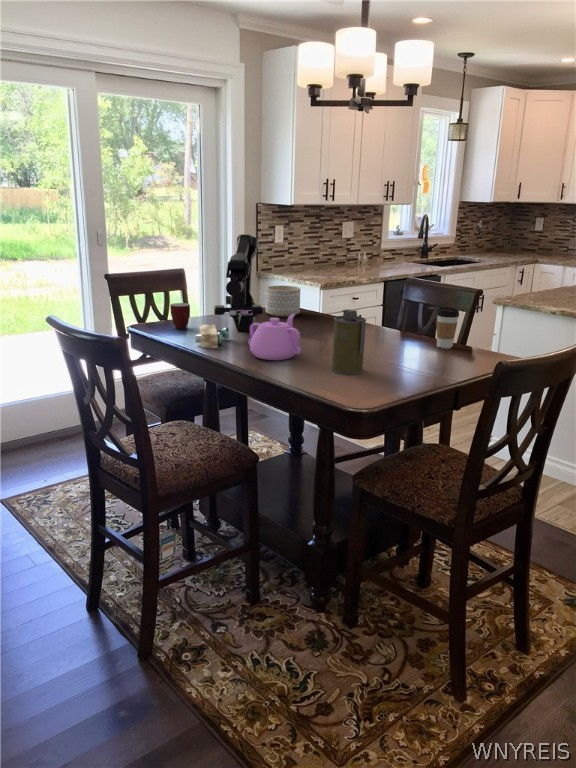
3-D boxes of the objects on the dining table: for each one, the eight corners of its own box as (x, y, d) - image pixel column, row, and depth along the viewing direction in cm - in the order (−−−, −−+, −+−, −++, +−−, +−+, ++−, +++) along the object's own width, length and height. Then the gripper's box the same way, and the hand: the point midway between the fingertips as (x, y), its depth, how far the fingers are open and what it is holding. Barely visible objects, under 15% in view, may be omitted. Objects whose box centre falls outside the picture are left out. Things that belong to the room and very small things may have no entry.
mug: (197, 329, 254) (196, 305, 251) (180, 331, 249) (180, 308, 246) (183, 325, 261) (183, 302, 258) (167, 327, 256) (166, 304, 253)
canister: (325, 369, 200) (327, 310, 194) (345, 364, 207) (348, 306, 201) (350, 376, 193) (353, 315, 187) (370, 371, 200) (374, 311, 194)
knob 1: (221, 342, 231) (221, 331, 230) (222, 344, 227) (222, 333, 226) (195, 342, 229) (195, 331, 228) (195, 345, 225) (195, 334, 224)
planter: (284, 310, 301) (285, 284, 297) (306, 315, 289) (307, 288, 285) (258, 313, 291) (258, 287, 287) (280, 319, 279) (280, 291, 275)
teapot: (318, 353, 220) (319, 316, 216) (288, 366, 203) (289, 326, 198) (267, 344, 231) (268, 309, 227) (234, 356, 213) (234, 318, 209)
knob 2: (227, 337, 239) (227, 326, 238) (228, 339, 235) (228, 329, 234) (207, 337, 238) (207, 327, 237) (208, 340, 234) (207, 329, 233)
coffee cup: (437, 343, 240) (441, 305, 235) (458, 346, 236) (462, 308, 231) (430, 347, 233) (434, 308, 228) (452, 350, 229) (456, 311, 224)
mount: (214, 337, 241) (214, 324, 239) (217, 347, 225) (217, 334, 223) (199, 337, 240) (199, 324, 238) (201, 348, 224) (201, 334, 222)
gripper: (259, 288, 242) (259, 326, 246) (212, 288, 238) (213, 327, 243) (263, 293, 231) (263, 332, 236) (214, 293, 228) (215, 333, 233)
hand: (238, 331), depth 237 cm, fingers closed
